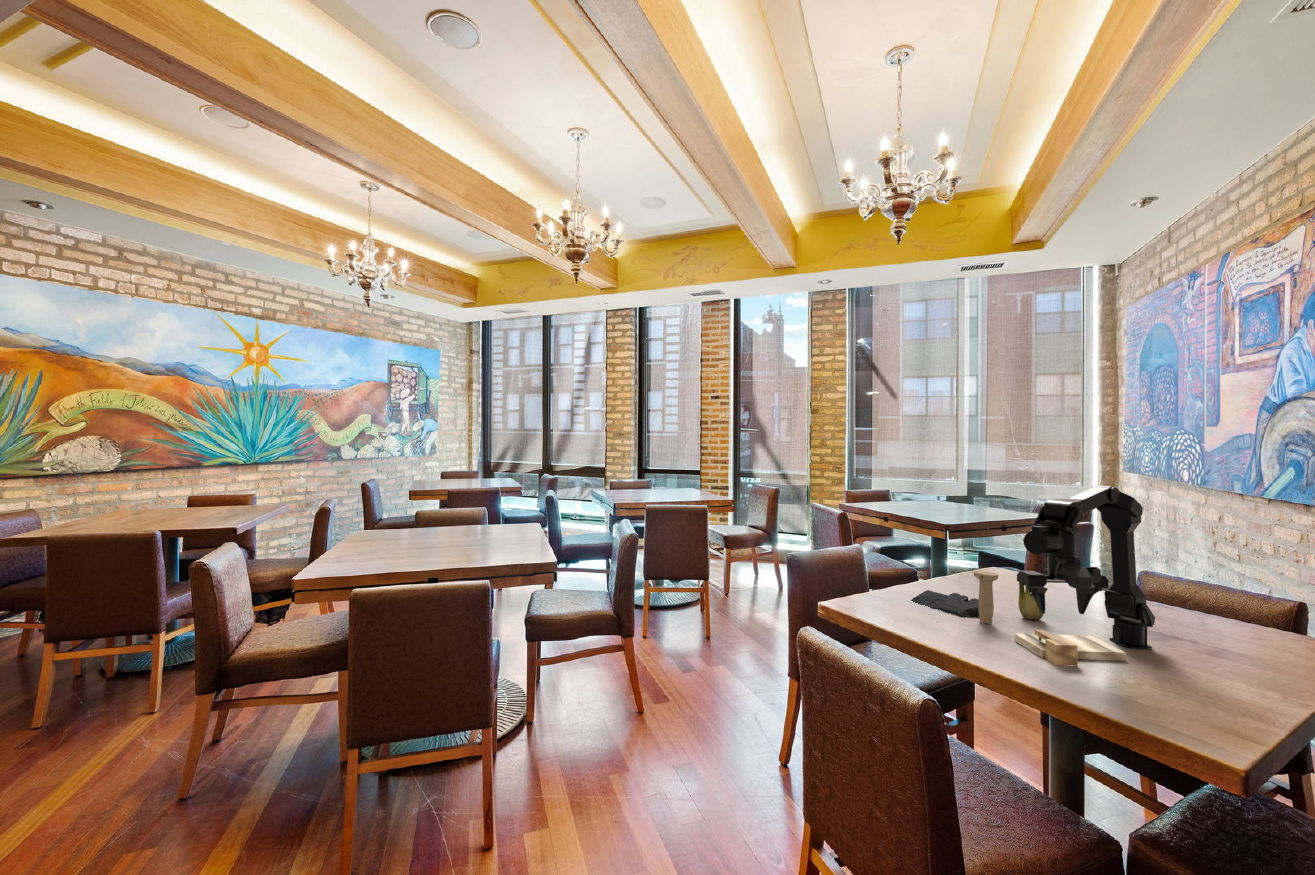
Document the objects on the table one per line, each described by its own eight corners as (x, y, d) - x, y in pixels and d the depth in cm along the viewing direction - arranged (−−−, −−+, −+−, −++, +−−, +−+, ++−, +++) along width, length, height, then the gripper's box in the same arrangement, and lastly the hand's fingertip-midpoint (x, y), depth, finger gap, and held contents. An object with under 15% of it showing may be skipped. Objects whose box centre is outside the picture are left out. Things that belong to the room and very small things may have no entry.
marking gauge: (1048, 649, 144) (1048, 630, 144) (1077, 666, 133) (1077, 645, 133) (1028, 648, 144) (1028, 629, 144) (1055, 665, 133) (1055, 644, 133)
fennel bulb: (1016, 617, 170) (1016, 579, 170) (1026, 615, 172) (1025, 577, 172) (1037, 623, 165) (1036, 583, 165) (1046, 620, 167) (1046, 581, 167)
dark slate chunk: (934, 596, 194) (934, 583, 194) (997, 614, 175) (997, 599, 175) (906, 602, 187) (906, 588, 187) (968, 621, 167) (968, 606, 167)
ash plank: (1091, 643, 148) (1091, 635, 148) (1125, 660, 136) (1125, 652, 136) (1014, 640, 150) (1014, 633, 150) (1041, 657, 138) (1041, 649, 138)
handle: (993, 627, 160) (993, 576, 161) (970, 621, 166) (970, 572, 166) (1001, 624, 163) (1001, 574, 163) (978, 618, 168) (978, 570, 169)
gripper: (1042, 557, 129) (1043, 623, 129) (1126, 558, 127) (1126, 625, 127) (1015, 548, 140) (1015, 609, 140) (1092, 549, 138) (1092, 610, 138)
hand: (1062, 613), depth 136 cm, fingers open, 9 cm apart
